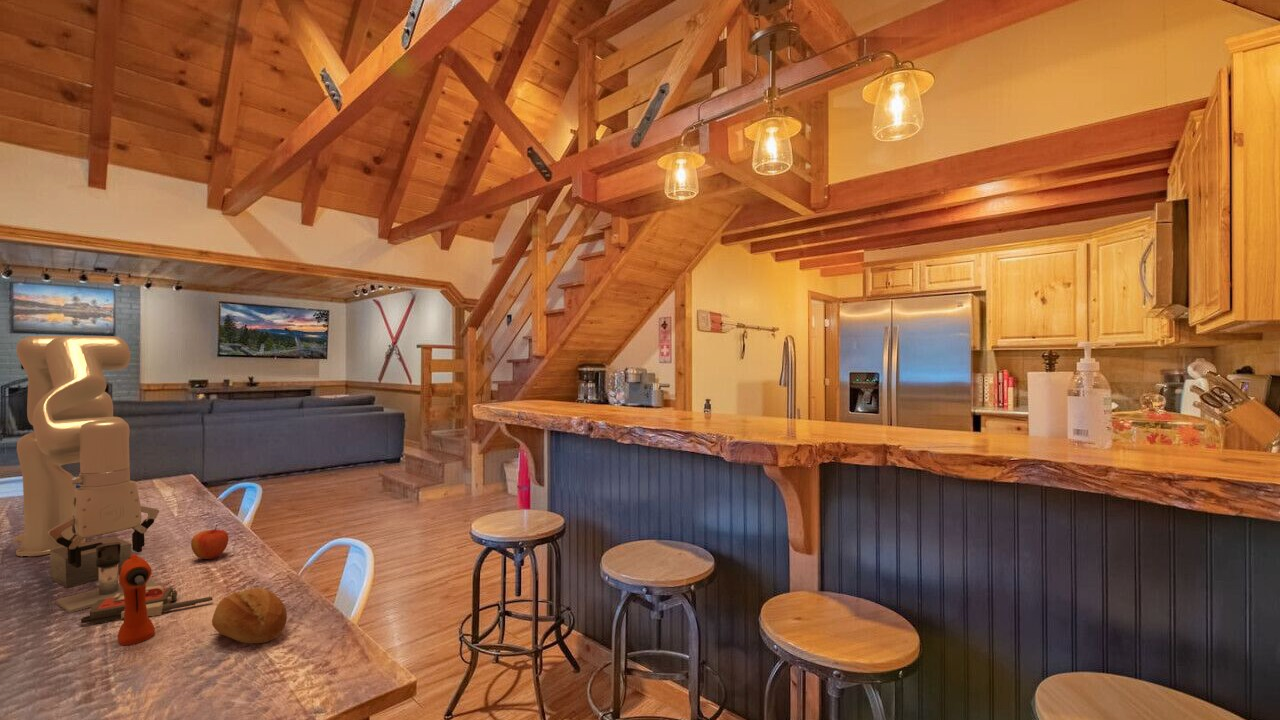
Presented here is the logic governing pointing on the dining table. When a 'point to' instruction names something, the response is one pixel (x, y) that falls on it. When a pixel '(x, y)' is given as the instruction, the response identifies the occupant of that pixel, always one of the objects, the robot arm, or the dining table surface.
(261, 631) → the bread roll
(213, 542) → the apple
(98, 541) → the block
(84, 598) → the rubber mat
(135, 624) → the toy drill
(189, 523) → the dining table surface
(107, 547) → the brown beige cylinder
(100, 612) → the walkie-talkie
